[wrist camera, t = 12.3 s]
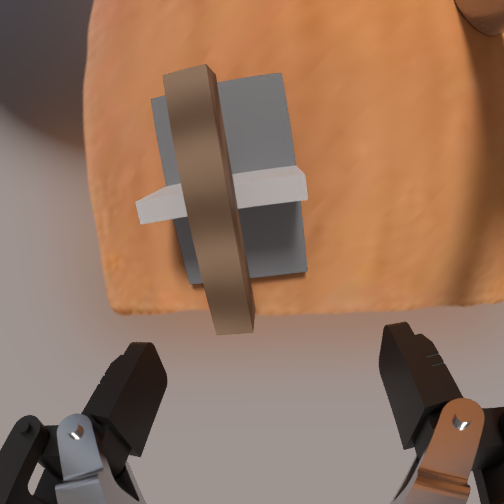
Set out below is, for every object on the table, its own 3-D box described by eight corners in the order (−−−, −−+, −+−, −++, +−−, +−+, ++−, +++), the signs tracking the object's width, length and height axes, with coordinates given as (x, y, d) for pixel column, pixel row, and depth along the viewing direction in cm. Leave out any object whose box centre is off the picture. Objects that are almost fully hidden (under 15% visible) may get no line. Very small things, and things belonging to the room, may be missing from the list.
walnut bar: (178, 83, 19) (162, 75, 16) (215, 74, 19) (206, 64, 16) (222, 311, 26) (216, 335, 23) (255, 309, 26) (253, 332, 23)
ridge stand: (155, 100, 28) (115, 90, 19) (280, 75, 27) (285, 50, 18) (192, 278, 36) (170, 322, 27) (306, 266, 35) (316, 309, 26)
